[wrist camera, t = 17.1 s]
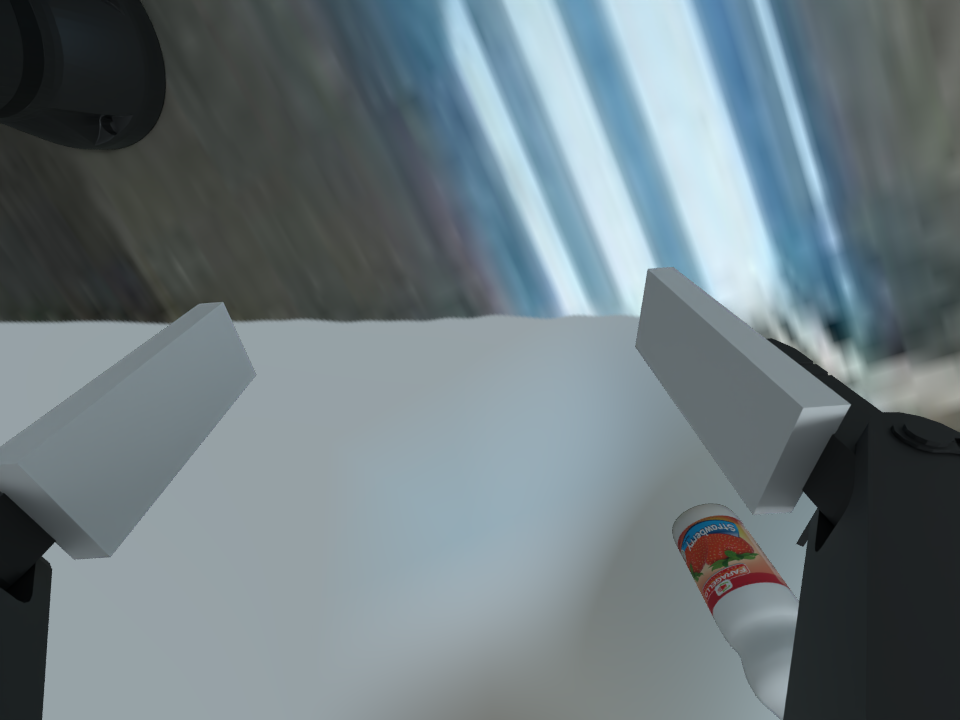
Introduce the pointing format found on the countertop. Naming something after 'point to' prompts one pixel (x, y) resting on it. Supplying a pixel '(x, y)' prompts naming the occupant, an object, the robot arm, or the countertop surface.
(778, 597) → the fruit juice
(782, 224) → the countertop surface
